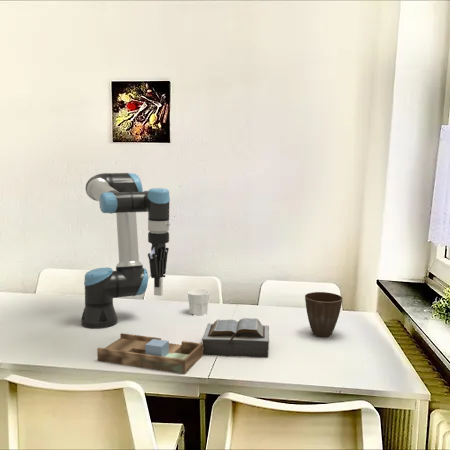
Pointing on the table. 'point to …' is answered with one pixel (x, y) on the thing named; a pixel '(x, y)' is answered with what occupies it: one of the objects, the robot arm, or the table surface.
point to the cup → (198, 301)
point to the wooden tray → (135, 355)
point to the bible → (236, 338)
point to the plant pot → (323, 312)
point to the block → (157, 347)
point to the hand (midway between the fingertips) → (158, 294)
